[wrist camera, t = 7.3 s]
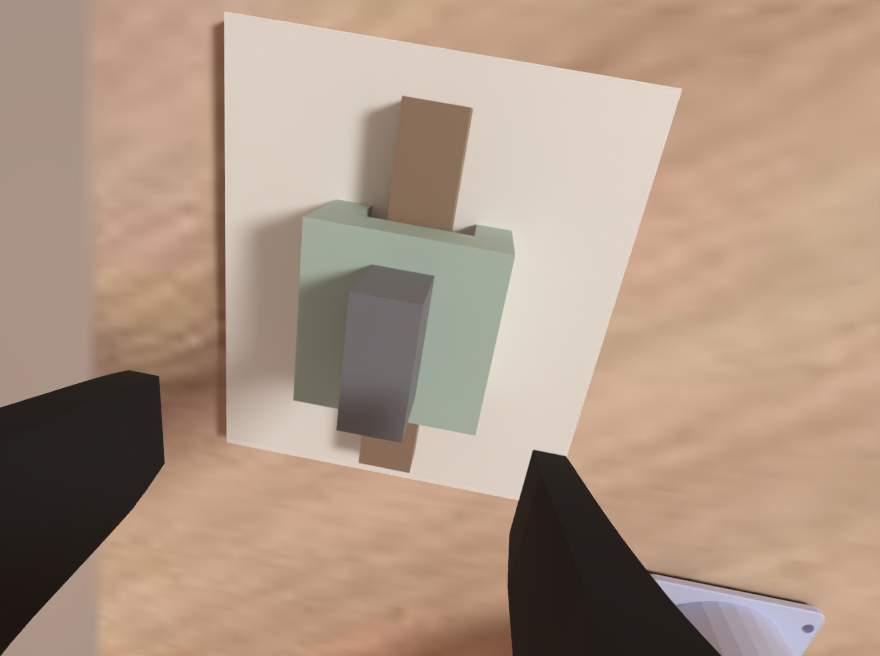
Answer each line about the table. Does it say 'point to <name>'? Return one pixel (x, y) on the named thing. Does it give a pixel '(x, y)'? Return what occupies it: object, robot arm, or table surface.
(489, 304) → the sage slotted block
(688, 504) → the table surface
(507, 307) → the board
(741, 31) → the table surface
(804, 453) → the table surface
